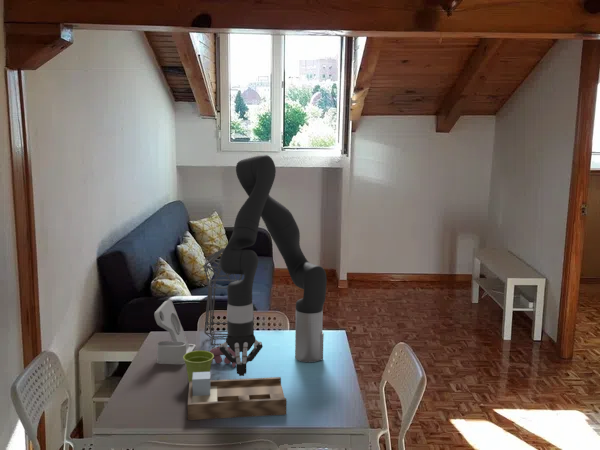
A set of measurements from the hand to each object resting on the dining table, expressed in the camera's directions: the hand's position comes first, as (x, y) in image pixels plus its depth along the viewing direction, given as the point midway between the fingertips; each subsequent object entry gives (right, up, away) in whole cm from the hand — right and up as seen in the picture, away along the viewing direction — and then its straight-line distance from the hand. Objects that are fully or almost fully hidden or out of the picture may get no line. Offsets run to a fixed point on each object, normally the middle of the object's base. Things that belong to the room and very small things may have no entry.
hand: (241, 374), depth 177 cm
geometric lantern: (-11, +1, +49) cm, 50 cm away
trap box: (-1, -8, -2) cm, 8 cm away
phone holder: (-26, -2, +35) cm, 43 cm away
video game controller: (-9, -3, +27) cm, 28 cm away
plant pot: (-14, -6, +12) cm, 20 cm away
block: (-11, -5, -1) cm, 12 cm away
